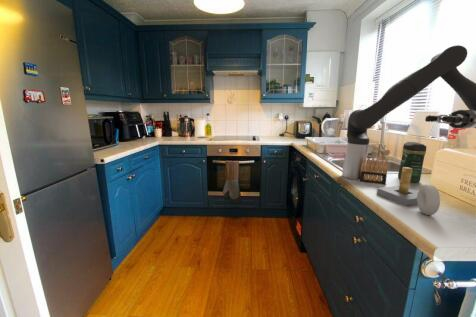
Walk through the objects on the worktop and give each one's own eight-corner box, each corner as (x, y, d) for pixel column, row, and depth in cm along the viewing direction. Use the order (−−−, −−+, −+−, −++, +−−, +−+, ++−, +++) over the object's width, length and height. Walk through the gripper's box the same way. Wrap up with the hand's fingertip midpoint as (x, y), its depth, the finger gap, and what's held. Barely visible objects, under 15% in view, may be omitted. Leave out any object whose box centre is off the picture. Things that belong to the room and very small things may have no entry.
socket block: (376, 194, 91) (377, 188, 90) (398, 191, 95) (399, 185, 94) (406, 206, 80) (407, 199, 79) (429, 202, 84) (431, 195, 83)
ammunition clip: (359, 181, 107) (362, 156, 104) (359, 180, 109) (362, 156, 106) (385, 184, 102) (389, 159, 100) (385, 183, 104) (389, 158, 101)
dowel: (395, 196, 88) (400, 167, 86) (401, 196, 89) (406, 166, 87) (403, 199, 86) (408, 169, 83) (408, 198, 86) (414, 168, 84)
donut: (412, 206, 80) (418, 179, 77) (424, 208, 78) (430, 181, 76) (425, 219, 70) (431, 189, 68) (438, 221, 69) (445, 190, 67)
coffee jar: (422, 183, 104) (430, 144, 100) (402, 182, 107) (410, 143, 103) (413, 177, 114) (420, 141, 109) (395, 176, 116) (401, 140, 112)
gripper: (446, 109, 98) (420, 109, 93) (491, 110, 85) (463, 109, 80) (443, 126, 100) (417, 127, 95) (486, 130, 86) (458, 130, 81)
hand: (438, 119), depth 87 cm, fingers open, 8 cm apart
